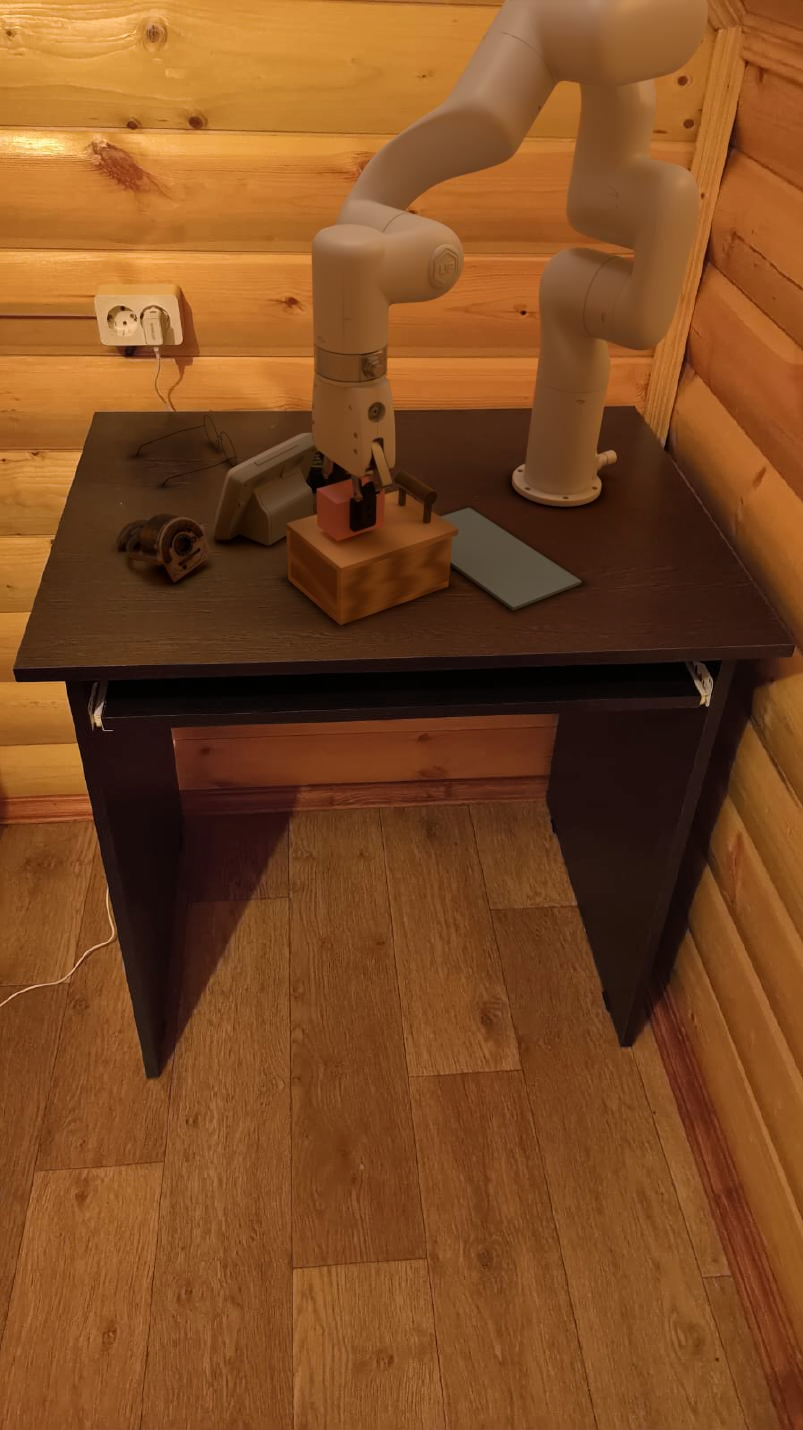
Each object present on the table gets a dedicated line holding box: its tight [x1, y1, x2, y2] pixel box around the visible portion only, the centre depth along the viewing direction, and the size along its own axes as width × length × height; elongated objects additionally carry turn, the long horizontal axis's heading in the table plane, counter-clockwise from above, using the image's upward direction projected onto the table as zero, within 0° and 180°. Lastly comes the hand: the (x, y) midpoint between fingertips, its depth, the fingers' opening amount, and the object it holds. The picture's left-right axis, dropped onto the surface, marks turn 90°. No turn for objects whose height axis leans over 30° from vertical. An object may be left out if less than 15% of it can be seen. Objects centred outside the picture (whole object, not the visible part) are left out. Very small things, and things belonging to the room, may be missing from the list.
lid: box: [286, 470, 458, 574], centre depth 118 cm, size 16×12×5 cm
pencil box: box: [286, 530, 453, 626], centre depth 121 cm, size 16×12×7 cm
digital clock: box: [212, 432, 318, 547], centre depth 130 cm, size 16×9×11 cm, turn 133°
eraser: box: [316, 476, 386, 541], centre depth 115 cm, size 6×4×5 cm, turn 126°
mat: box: [440, 507, 582, 612], centre depth 129 cm, size 11×22×1 cm, turn 36°
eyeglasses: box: [135, 414, 237, 487], centre depth 144 cm, size 11×13×5 cm
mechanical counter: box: [116, 513, 213, 583], centre depth 123 cm, size 7×13×10 cm
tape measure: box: [306, 450, 328, 489], centre depth 142 cm, size 7×7×4 cm
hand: (350, 516), depth 116 cm, fingers closed on eraser, 4 cm apart
